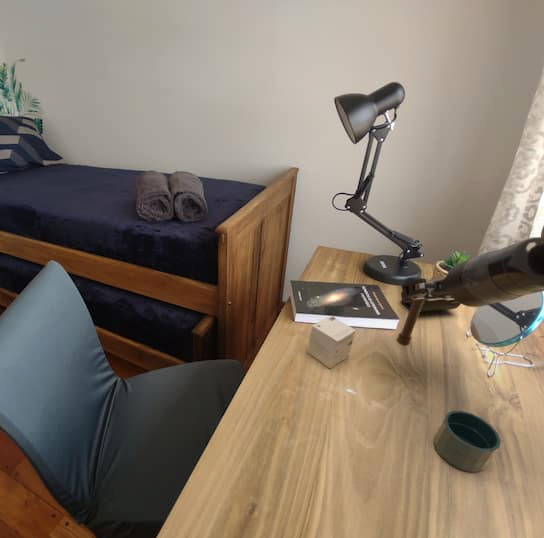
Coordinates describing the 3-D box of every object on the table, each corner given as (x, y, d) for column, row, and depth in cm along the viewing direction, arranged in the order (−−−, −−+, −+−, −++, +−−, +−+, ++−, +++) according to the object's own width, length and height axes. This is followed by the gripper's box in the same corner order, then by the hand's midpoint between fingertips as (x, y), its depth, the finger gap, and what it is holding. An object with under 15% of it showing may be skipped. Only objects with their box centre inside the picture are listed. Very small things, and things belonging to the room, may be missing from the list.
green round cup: (464, 432, 59) (477, 410, 56) (496, 472, 53) (512, 450, 51) (423, 433, 59) (435, 411, 56) (451, 473, 53) (465, 451, 50)
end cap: (416, 319, 85) (425, 295, 81) (398, 302, 91) (405, 279, 87) (455, 316, 86) (466, 292, 82) (434, 299, 92) (444, 276, 88)
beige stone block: (329, 369, 72) (337, 341, 68) (305, 352, 76) (311, 324, 72) (348, 357, 74) (356, 329, 71) (324, 341, 79) (330, 314, 75)
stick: (405, 337, 79) (425, 284, 72) (411, 345, 77) (433, 291, 70) (394, 338, 79) (414, 285, 72) (400, 345, 77) (421, 291, 70)
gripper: (534, 255, 55) (461, 279, 71) (437, 254, 56) (387, 278, 72) (544, 304, 53) (467, 317, 69) (444, 301, 54) (391, 315, 70)
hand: (426, 297), depth 70 cm, fingers open, 8 cm apart
